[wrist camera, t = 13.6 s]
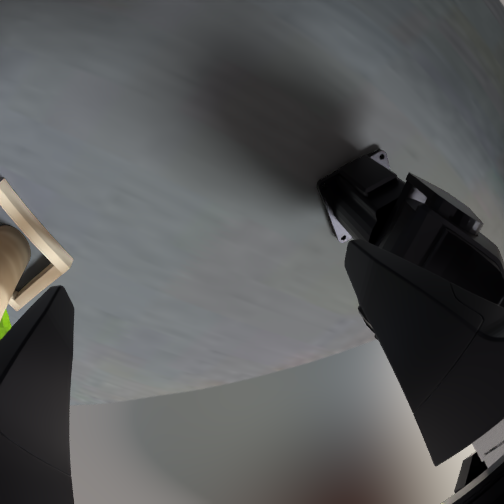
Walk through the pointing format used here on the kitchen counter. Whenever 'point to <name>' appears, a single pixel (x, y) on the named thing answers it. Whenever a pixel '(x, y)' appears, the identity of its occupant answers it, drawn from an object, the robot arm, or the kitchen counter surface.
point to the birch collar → (41, 239)
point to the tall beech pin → (11, 262)
